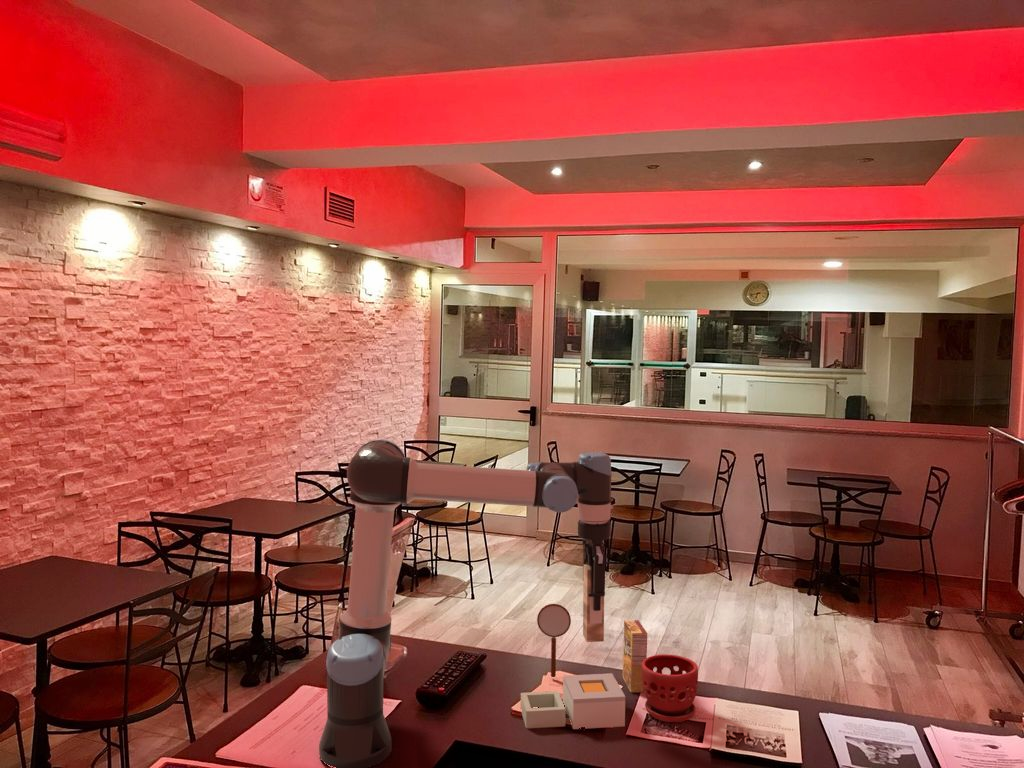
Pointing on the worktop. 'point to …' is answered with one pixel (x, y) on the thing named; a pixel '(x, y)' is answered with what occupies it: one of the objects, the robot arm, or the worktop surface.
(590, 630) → the wooden square peg
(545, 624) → the magnifying glass
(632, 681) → the candy box
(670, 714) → the plant pot
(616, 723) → the white box with opening
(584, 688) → the button
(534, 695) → the cream square open box
